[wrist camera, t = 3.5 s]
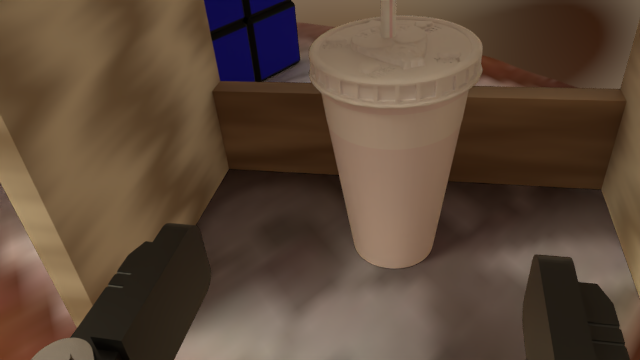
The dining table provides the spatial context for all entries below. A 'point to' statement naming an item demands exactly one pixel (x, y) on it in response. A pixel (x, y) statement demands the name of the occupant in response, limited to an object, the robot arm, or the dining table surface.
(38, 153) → the open box
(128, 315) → the robot arm
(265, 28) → the puzzle cube
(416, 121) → the smoothie
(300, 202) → the dining table surface
